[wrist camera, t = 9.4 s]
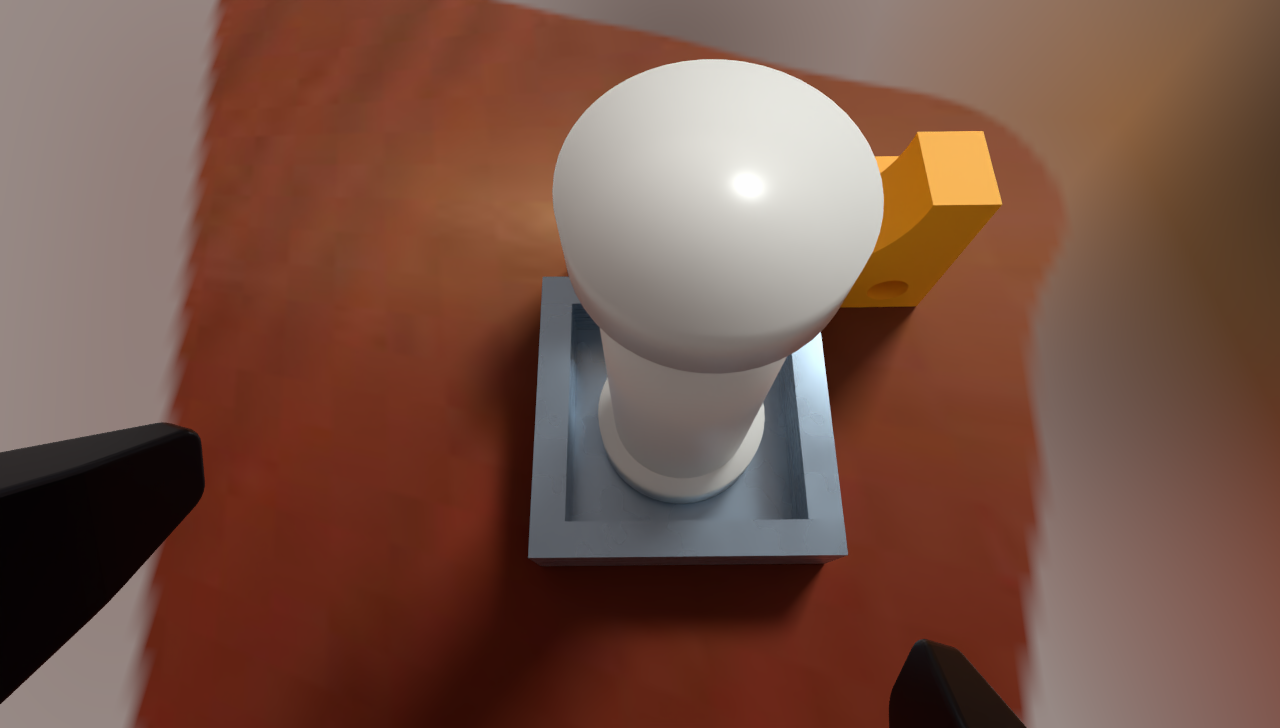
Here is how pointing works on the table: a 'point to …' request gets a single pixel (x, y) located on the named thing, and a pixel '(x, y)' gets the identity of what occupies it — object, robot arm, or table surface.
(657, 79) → the white domed pillar
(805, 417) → the blue-grey square tray
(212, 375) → the table surface
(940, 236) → the pipe clamp
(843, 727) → the table surface
